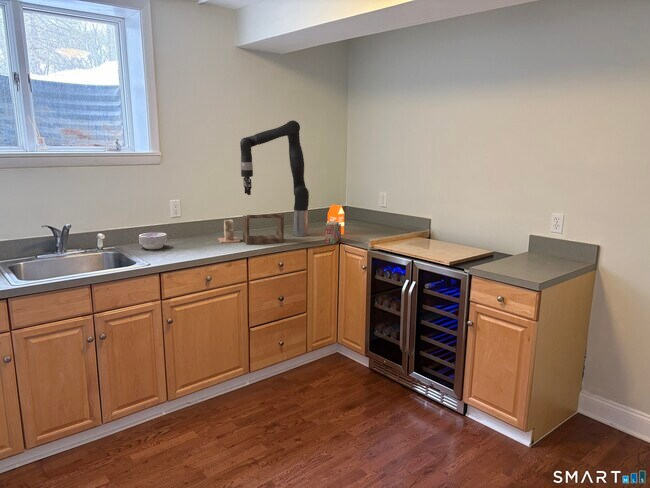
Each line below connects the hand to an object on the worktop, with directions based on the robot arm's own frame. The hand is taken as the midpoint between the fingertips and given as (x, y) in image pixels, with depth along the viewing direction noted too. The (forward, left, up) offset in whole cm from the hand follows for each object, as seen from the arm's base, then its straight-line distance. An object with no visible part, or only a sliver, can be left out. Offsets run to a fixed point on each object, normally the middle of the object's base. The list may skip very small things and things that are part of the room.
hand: (247, 194), depth 317 cm
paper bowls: (+60, +23, -28) cm, 70 cm away
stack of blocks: (-50, +27, -28) cm, 63 cm away
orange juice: (-59, +9, -28) cm, 66 cm away
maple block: (+15, +14, -27) cm, 34 cm away
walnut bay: (-5, +22, -27) cm, 36 cm away
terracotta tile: (+15, +14, -27) cm, 34 cm away
